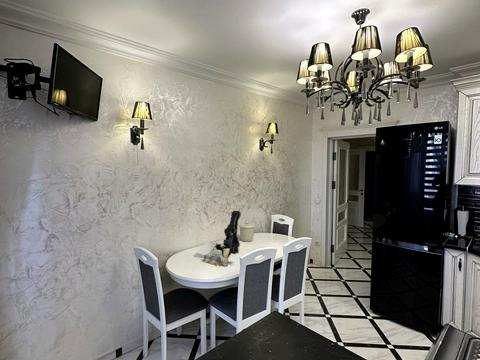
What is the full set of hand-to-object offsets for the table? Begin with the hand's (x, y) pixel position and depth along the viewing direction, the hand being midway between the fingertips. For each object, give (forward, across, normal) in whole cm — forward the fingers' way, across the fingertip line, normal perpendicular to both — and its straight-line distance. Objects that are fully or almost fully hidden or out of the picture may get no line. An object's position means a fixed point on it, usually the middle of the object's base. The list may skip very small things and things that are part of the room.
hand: (225, 257), depth 212 cm
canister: (-48, +5, +60) cm, 77 cm away
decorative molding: (-16, -27, +29) cm, 42 cm away
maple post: (+4, 0, +6) cm, 7 cm away
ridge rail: (+1, -13, +9) cm, 16 cm away
